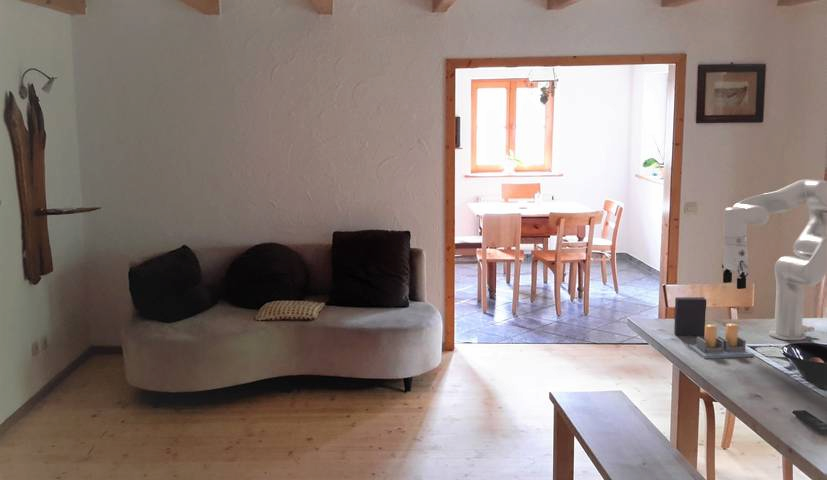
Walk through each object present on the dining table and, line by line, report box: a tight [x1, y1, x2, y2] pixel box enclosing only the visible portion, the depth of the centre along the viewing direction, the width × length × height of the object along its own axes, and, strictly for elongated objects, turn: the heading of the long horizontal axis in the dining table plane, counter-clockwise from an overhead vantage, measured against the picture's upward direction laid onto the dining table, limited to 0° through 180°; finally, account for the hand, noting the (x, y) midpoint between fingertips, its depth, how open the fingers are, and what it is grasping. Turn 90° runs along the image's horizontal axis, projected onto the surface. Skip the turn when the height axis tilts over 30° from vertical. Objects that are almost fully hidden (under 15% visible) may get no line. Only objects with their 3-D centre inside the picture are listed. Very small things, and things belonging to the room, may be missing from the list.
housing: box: [688, 323, 755, 359], centre depth 256 cm, size 18×13×10 cm
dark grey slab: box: [673, 296, 707, 337], centre depth 277 cm, size 11×4×15 cm, turn 84°
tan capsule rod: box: [724, 323, 739, 347], centre depth 256 cm, size 4×4×9 cm
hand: (734, 285), depth 261 cm, fingers open, 9 cm apart
